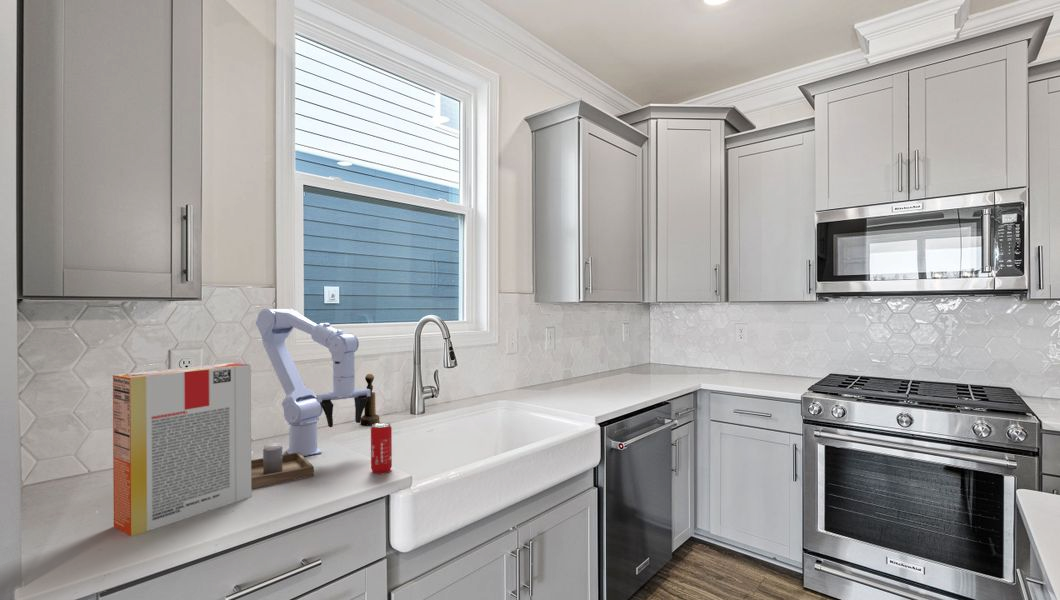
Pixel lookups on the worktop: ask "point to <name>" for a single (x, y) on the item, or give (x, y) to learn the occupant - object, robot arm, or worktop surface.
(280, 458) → the cylinder
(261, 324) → the robot arm
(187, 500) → the cereal box
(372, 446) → the beverage can
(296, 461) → the walnut tray
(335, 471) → the worktop surface
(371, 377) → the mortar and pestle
